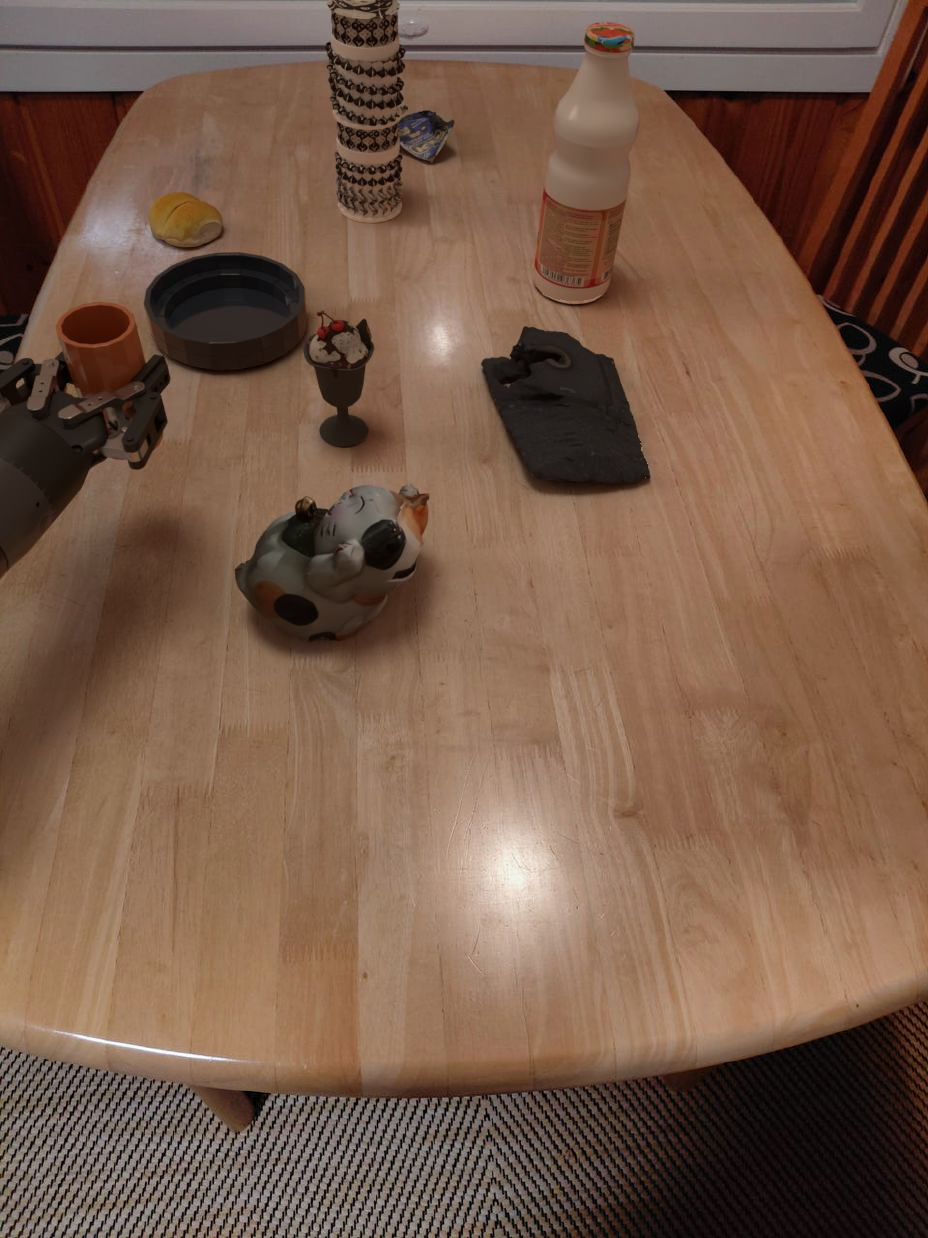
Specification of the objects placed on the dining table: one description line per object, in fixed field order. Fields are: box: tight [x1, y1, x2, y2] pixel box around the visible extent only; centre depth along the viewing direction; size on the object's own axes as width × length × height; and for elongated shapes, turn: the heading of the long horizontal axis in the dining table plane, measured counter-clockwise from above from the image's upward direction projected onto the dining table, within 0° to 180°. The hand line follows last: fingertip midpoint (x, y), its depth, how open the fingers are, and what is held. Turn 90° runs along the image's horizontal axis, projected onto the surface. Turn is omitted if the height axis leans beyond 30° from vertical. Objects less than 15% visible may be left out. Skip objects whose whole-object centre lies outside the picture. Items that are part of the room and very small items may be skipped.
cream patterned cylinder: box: [324, 0, 407, 224], centre depth 113 cm, size 9×9×25 cm
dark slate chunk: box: [480, 325, 651, 485], centre depth 96 cm, size 15×22×5 cm
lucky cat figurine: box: [234, 482, 430, 643], centre depth 78 cm, size 15×12×14 cm
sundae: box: [302, 309, 375, 448], centre depth 89 cm, size 7×7×15 cm
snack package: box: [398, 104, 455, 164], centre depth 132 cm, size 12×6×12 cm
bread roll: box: [148, 191, 224, 248], centre depth 115 cm, size 8×9×4 cm
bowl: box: [143, 251, 308, 371], centre depth 104 cm, size 17×17×4 cm
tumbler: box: [55, 301, 164, 461], centre depth 73 cm, size 6×6×11 cm
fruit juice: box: [532, 21, 640, 301], centre depth 103 cm, size 9×9×28 cm
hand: (126, 355), depth 74 cm, fingers closed on tumbler, 5 cm apart
